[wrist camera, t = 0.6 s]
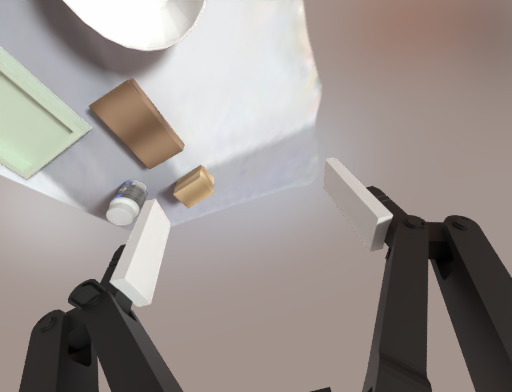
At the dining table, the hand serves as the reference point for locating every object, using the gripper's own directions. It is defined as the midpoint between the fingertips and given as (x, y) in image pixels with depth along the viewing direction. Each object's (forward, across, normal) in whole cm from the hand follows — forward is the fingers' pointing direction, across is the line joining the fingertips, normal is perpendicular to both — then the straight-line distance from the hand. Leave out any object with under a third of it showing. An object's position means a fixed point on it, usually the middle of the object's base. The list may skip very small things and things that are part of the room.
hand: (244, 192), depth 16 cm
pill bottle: (+24, -22, -11) cm, 35 cm away
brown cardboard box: (+25, -14, +1) cm, 29 cm away
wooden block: (+24, -10, -12) cm, 29 cm away
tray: (+24, -31, +6) cm, 40 cm away
